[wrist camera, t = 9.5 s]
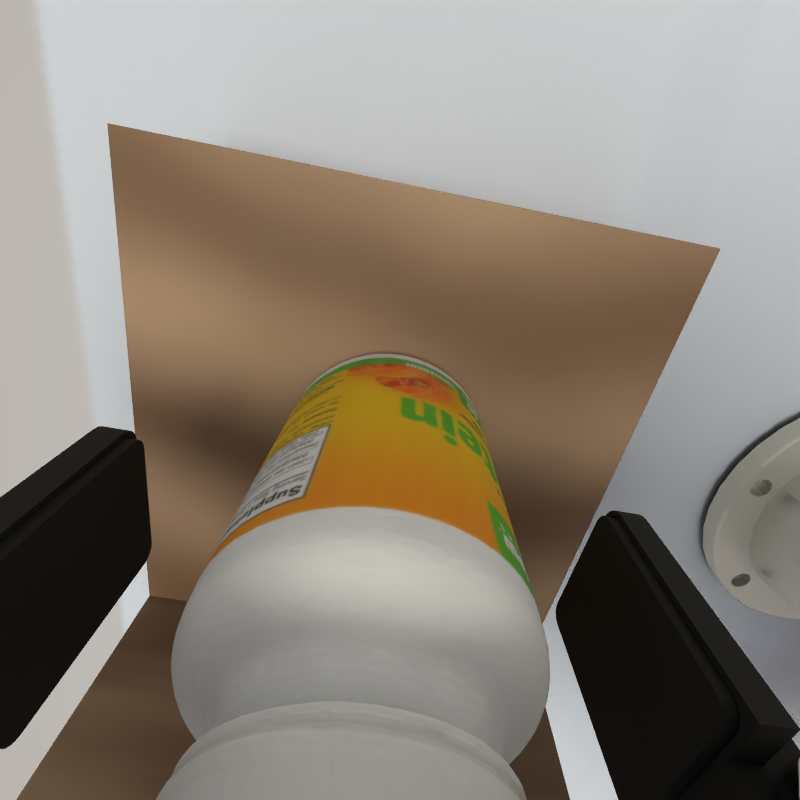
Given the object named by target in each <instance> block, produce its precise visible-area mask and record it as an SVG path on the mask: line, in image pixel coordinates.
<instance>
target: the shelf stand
mask: <svg viewBox="0 0 800 800" xmlns="http://www.w3.org/2000/svg"><path fill="white" fill-rule="evenodd" d="M107 124H108V123H107ZM108 135H109V146H110V157H111V168H112V179H113V191H114V202H115V213H116V224H117V235H118V246H119V258H120V269H121V280H122V291H123V302H124V313H125V325H126V336H127V347H128V358H129V369H130V381H131V392H132V403H133V414H134V425H135V435H136V439H137V440H140V441H142V442H143V444H144V451H145V463H146V475H147V488H148V500H149V513H150V525H151V537H152V547H151V551H150V554H149V557H148V559H147V571H148V582H149V593H150V596H149V598H148V599H147V601H146V602H145V604H144V605H143V607H142V608H141V610H140V611H139V613H138V614H137V616H136V618H135V619H134V621H133V622H132V624H131V625H130V627H129V628H128V630H127V631H126V633H125V634H124V636H123V638H122V639H121V640H120V642H119V644H118V645H117V647H116V648H115V650H114V651H113V653H112V654H111V656H110V657H109V659H108V660H107V662H106V663H105V665H104V667H103V668H102V670H101V671H100V673H99V674H98V676H97V677H96V679H95V680H94V682H93V684H92V685H91V687H90V688H89V690H88V691H87V693H86V694H85V696H84V697H83V699H82V700H81V702H80V703H79V705H78V706H77V708H76V709H75V711H74V712H73V714H72V715H71V717H70V719H69V720H68V722H67V724H66V725H65V726H64V728H63V729H62V731H61V732H60V734H59V735H58V737H57V738H56V740H55V742H54V743H53V745H52V746H51V748H50V749H49V751H48V752H47V754H46V755H45V757H44V759H43V760H42V761H41V763H40V764H39V766H38V768H37V769H36V771H35V772H34V774H33V775H32V777H31V778H30V780H29V781H28V783H27V784H26V786H25V787H24V789H23V791H22V792H21V794H20V795H19V797H18V798H17V800H156V798H157V796H158V795H159V793H160V792H161V790H162V788H163V787H164V785H165V784H166V782H167V781H168V780H169V779H170V778H171V776H172V774H173V772H174V769H175V767H176V765H177V764H178V762H179V760H180V759H181V757H182V756H183V754H184V753H185V752H186V751H187V750H188V749H189V748H190V746H191V745H192V744H194V743H195V742H196V739H195V738H194V736H193V735H192V733H191V732H190V731H189V729H188V727H187V726H186V724H185V722H184V720H183V718H182V716H181V713H180V711H179V708H178V705H177V702H176V699H175V695H174V689H173V684H172V673H171V657H172V649H173V642H174V638H175V634H176V630H177V627H178V624H179V622H180V619H181V616H182V614H183V611H184V609H185V606H186V604H187V602H188V600H189V598H190V596H191V594H192V592H193V590H194V588H195V586H196V584H197V582H198V579H199V578H200V576H201V574H202V572H203V570H204V568H205V567H206V565H207V563H208V561H209V560H210V558H211V556H212V554H213V552H214V551H215V549H216V547H217V545H218V544H219V542H220V540H221V539H222V537H223V535H224V533H225V532H226V530H227V528H228V526H229V524H230V522H231V521H232V519H233V517H234V515H235V513H236V512H237V510H238V508H239V506H240V504H241V503H242V501H243V499H244V497H245V495H246V494H247V492H248V490H249V488H250V486H251V485H252V483H253V481H254V479H255V477H256V475H257V474H258V472H259V470H260V468H261V466H262V465H263V463H264V461H265V459H266V458H267V456H268V454H269V452H270V450H271V448H272V447H273V445H274V443H275V441H276V440H277V438H278V436H279V434H280V432H281V431H282V429H283V427H284V425H285V423H286V422H287V420H288V418H289V416H290V414H291V412H292V411H293V409H294V407H295V406H296V404H297V402H298V401H299V400H300V398H301V396H302V395H303V394H304V392H305V391H306V390H307V388H308V387H309V386H310V385H311V384H312V383H313V382H314V381H315V380H316V379H317V378H318V377H320V376H321V375H322V374H324V373H325V372H326V371H328V370H329V369H331V368H333V367H334V366H336V365H338V364H340V363H342V362H344V361H347V360H350V359H353V358H356V357H360V356H364V355H370V354H398V355H404V356H409V357H413V358H416V359H419V360H422V361H424V362H427V363H429V364H431V365H433V366H435V367H437V368H438V369H440V370H442V371H443V372H445V373H446V374H447V375H449V376H450V377H451V378H452V379H453V380H454V381H456V382H457V383H458V384H459V385H460V387H461V388H462V389H463V390H464V391H465V393H466V394H467V395H468V397H469V399H470V400H471V402H472V404H473V406H474V408H475V410H476V412H477V414H478V417H479V419H480V422H481V425H482V428H483V432H484V435H485V438H486V442H487V445H488V449H489V452H490V456H491V459H492V462H493V466H494V469H495V473H496V476H497V479H498V482H499V486H500V489H501V492H502V495H503V499H504V502H505V506H506V509H507V512H508V515H509V518H510V521H511V524H512V528H513V531H514V534H515V537H516V540H517V544H518V547H519V550H520V554H521V557H522V560H523V563H524V566H525V570H526V573H527V576H528V579H529V582H530V585H531V588H532V591H533V594H534V597H535V601H536V604H537V608H538V612H539V615H540V619H541V622H542V624H543V622H544V620H545V618H546V615H547V613H548V611H549V609H550V607H551V605H552V603H553V601H554V599H555V596H556V594H557V592H558V590H559V588H560V586H561V584H562V582H563V580H564V578H565V575H566V573H567V571H568V569H569V567H570V565H571V563H572V561H573V559H574V556H575V554H576V552H577V550H578V548H579V546H580V544H581V542H582V540H583V537H584V535H585V533H586V531H587V529H588V527H589V525H590V523H591V521H592V519H593V516H594V514H595V512H596V510H597V508H598V506H599V504H600V502H601V500H602V497H603V495H604V493H605V491H606V489H607V487H608V485H609V483H610V481H611V478H612V476H613V474H614V472H615V470H616V468H617V466H618V464H619V462H620V460H621V457H622V455H623V453H624V451H625V449H626V447H627V445H628V443H629V441H630V438H631V436H632V434H633V432H634V430H635V428H636V426H637V424H638V422H639V419H640V417H641V415H642V413H643V411H644V409H645V407H646V405H647V403H648V400H649V398H650V396H651V394H652V392H653V390H654V388H655V386H656V384H657V382H658V379H659V377H660V375H661V373H662V371H663V369H664V367H665V365H666V363H667V360H668V358H669V356H670V354H671V352H672V350H673V348H674V346H675V344H676V341H677V339H678V337H679V335H680V333H681V331H682V329H683V327H684V325H685V323H686V320H687V318H688V316H689V314H690V312H691V310H692V308H693V306H694V304H695V301H696V299H697V297H698V295H699V293H700V291H701V289H702V287H703V285H704V282H705V280H706V278H707V276H708V274H709V272H710V270H711V268H712V266H713V264H714V261H715V259H716V257H717V255H718V253H719V251H720V249H719V248H714V247H709V246H704V245H700V244H695V243H690V242H685V241H680V240H675V239H670V238H665V237H660V236H656V235H651V234H646V233H641V232H636V231H631V230H626V229H621V228H616V227H612V226H607V225H602V224H597V223H592V222H587V221H582V220H577V219H572V218H568V217H563V216H558V215H553V214H548V213H543V212H538V211H533V210H529V209H524V208H519V207H514V206H509V205H504V204H499V203H494V202H489V201H485V200H480V199H475V198H470V197H465V196H460V195H455V194H450V193H445V192H441V191H436V190H431V189H426V188H421V187H416V186H411V185H406V184H401V183H397V182H392V181H387V180H382V179H377V178H372V177H367V176H362V175H357V174H353V173H348V172H343V171H338V170H333V169H328V168H323V167H318V166H314V165H309V164H304V163H299V162H294V161H289V160H284V159H279V158H274V157H270V156H265V155H260V154H255V153H250V152H245V151H240V150H235V149H230V148H226V147H221V146H216V145H211V144H206V143H201V142H196V141H191V140H186V139H182V138H177V137H172V136H167V135H162V134H157V133H152V132H147V131H142V130H138V129H133V128H128V127H123V126H118V125H113V124H108ZM509 766H510V767H511V768H512V770H513V771H514V773H515V774H516V776H517V777H518V779H519V780H520V782H521V784H522V786H523V789H524V793H525V796H526V799H527V800H570V798H569V794H568V791H567V787H566V783H565V779H564V776H563V772H562V768H561V764H560V761H559V757H558V753H557V749H556V746H555V742H554V738H553V734H552V731H551V727H550V723H549V719H548V716H547V712H546V708H544V711H543V714H542V717H541V720H540V723H539V725H538V727H537V729H536V731H535V733H534V734H533V736H532V738H531V739H530V740H529V742H528V743H527V745H526V746H525V748H524V749H523V750H522V751H521V753H520V754H519V755H518V756H517V757H516V758H515V759H514V760H513V761H512V762H511V763H510V764H509Z"/></svg>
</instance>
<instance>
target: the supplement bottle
mask: <svg viewBox="0 0 800 800" xmlns="http://www.w3.org/2000/svg"><path fill="white" fill-rule="evenodd" d="M171 673H172V684H173V689H174V695H175V699H176V702H177V705H178V708H179V711H180V713H181V716H182V718H183V720H184V722H185V724H186V726H187V727H188V729H189V731H190V732H191V733H192V735H193V736H194V738H195V739H196V742H195V743H194V744H192V745H191V746H190V748H189V749H188V750H187V751H186V752H185V753H184V754H183V756H182V757H181V759H180V760H179V762H178V764H177V765H176V767H175V769H174V772H173V774H172V776H171V778H170V779H169V780H168V781H167V782H166V784H165V785H164V787H163V788H162V790H161V792H160V793H159V795H158V796H157V798H156V800H527V799H526V796H525V793H524V789H523V786H522V784H521V782H520V780H519V779H518V777H517V776H516V774H515V773H514V771H513V770H512V768H511V767H510V766H509V764H510V763H511V762H512V761H513V760H514V759H515V758H516V757H517V756H518V755H519V754H520V753H521V751H522V750H523V749H524V748H525V746H526V745H527V743H528V742H529V740H530V739H531V738H532V736H533V734H534V733H535V731H536V729H537V727H538V725H539V723H540V720H541V717H542V714H543V711H544V708H545V705H546V702H547V697H548V691H549V681H550V666H549V653H548V645H547V641H546V637H545V633H544V629H543V626H542V622H541V619H540V615H539V612H538V608H537V604H536V601H535V597H534V594H533V591H532V588H531V585H530V582H529V579H528V576H527V573H526V570H525V566H524V563H523V560H522V557H521V554H520V550H519V547H518V544H517V540H516V537H515V534H514V531H513V528H512V524H511V521H510V518H509V515H508V512H507V509H506V506H505V502H504V499H503V495H502V492H501V489H500V486H499V482H498V479H497V476H496V473H495V469H494V466H493V462H492V459H491V456H490V452H489V449H488V445H487V442H486V438H485V435H484V432H483V428H482V425H481V422H480V419H479V417H478V414H477V412H476V410H475V408H474V406H473V404H472V402H471V400H470V399H469V397H468V395H467V394H466V393H465V391H464V390H463V389H462V388H461V387H460V385H459V384H458V383H457V382H456V381H454V380H453V379H452V378H451V377H450V376H449V375H447V374H446V373H445V372H443V371H442V370H440V369H438V368H437V367H435V366H433V365H431V364H429V363H427V362H424V361H422V360H419V359H416V358H413V357H409V356H404V355H398V354H370V355H364V356H360V357H356V358H353V359H350V360H347V361H344V362H342V363H340V364H338V365H336V366H334V367H333V368H331V369H329V370H328V371H326V372H325V373H324V374H322V375H321V376H320V377H318V378H317V379H316V380H315V381H314V382H313V383H312V384H311V385H310V386H309V387H308V388H307V390H306V391H305V392H304V394H303V395H302V396H301V398H300V400H299V401H298V402H297V404H296V406H295V407H294V409H293V411H292V412H291V414H290V416H289V418H288V420H287V422H286V423H285V425H284V427H283V429H282V431H281V432H280V434H279V436H278V438H277V440H276V441H275V443H274V445H273V447H272V448H271V450H270V452H269V454H268V456H267V458H266V459H265V461H264V463H263V465H262V466H261V468H260V470H259V472H258V474H257V475H256V477H255V479H254V481H253V483H252V485H251V486H250V488H249V490H248V492H247V494H246V495H245V497H244V499H243V501H242V503H241V504H240V506H239V508H238V510H237V512H236V513H235V515H234V517H233V519H232V521H231V522H230V524H229V526H228V528H227V530H226V532H225V533H224V535H223V537H222V539H221V540H220V542H219V544H218V545H217V547H216V549H215V551H214V552H213V554H212V556H211V558H210V560H209V561H208V563H207V565H206V567H205V568H204V570H203V572H202V574H201V576H200V578H199V579H198V582H197V584H196V586H195V588H194V590H193V592H192V594H191V596H190V598H189V600H188V602H187V604H186V606H185V609H184V611H183V614H182V616H181V619H180V622H179V624H178V627H177V630H176V634H175V638H174V642H173V649H172V657H171Z"/></svg>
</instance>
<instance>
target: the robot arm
mask: <svg viewBox="0 0 800 800" xmlns="http://www.w3.org/2000/svg"><path fill="white" fill-rule="evenodd" d="M151 547H152V537H151V525H150V513H149V500H148V488H147V475H146V463H145V451H144V444H143V442H142V441H140V440H137V439H136V435H135V434H134V433H133V432H132V431H128V430H121V429H115V428H109V427H103V426H101V427H97V428H95V429H93V430H92V431H91V432H89V433H88V434H86V435H85V436H84V437H82V438H81V439H80V440H78V441H77V442H75V443H74V444H73V445H71V446H70V447H69V448H67V449H66V450H65V451H63V452H62V453H61V454H59V455H58V456H56V457H55V458H54V459H52V460H51V461H49V462H48V463H47V464H46V465H44V466H43V467H41V468H40V469H39V470H37V471H36V472H35V473H33V474H32V475H30V476H29V477H28V478H26V479H25V480H23V481H22V482H21V483H20V484H18V485H17V486H15V487H14V488H13V489H11V490H10V491H9V492H7V493H6V494H4V495H3V496H2V497H0V749H5V748H7V747H8V746H10V745H11V744H12V743H13V742H15V741H16V739H17V738H18V737H19V736H20V734H21V733H22V732H23V730H24V729H25V728H26V726H27V725H28V723H29V722H30V721H31V719H32V718H33V717H34V715H35V714H36V713H37V711H38V710H39V708H40V707H41V705H42V704H43V703H44V702H45V700H46V699H47V697H48V696H49V695H50V693H51V692H52V691H53V689H54V688H55V686H56V685H57V684H58V682H59V681H60V679H61V678H62V677H63V675H64V674H65V672H66V671H67V670H68V668H69V667H70V666H71V664H72V663H73V661H74V660H75V659H76V657H77V656H78V655H79V653H80V652H81V650H82V649H83V648H84V646H85V645H86V644H87V642H88V641H89V639H90V638H91V637H92V635H93V634H94V633H95V631H96V630H97V628H98V627H99V626H100V624H101V623H102V622H103V620H104V619H105V617H106V616H107V615H108V613H109V612H110V611H111V609H112V608H113V606H114V605H115V603H116V602H117V601H118V599H119V598H120V597H121V595H122V594H123V593H124V591H125V590H126V588H127V587H128V586H129V584H130V583H131V582H132V580H133V579H134V577H135V576H136V575H137V573H138V572H139V571H140V569H141V568H142V566H143V565H144V564H145V562H146V560H147V559H148V557H149V554H150V551H151ZM703 549H704V553H705V557H706V561H707V563H708V565H709V567H710V568H711V570H712V572H713V573H714V575H715V576H716V578H717V579H718V580H719V581H720V582H721V583H722V585H723V586H724V587H725V588H726V589H727V590H728V592H729V593H730V594H731V595H732V596H733V597H734V598H736V599H737V600H739V601H740V602H741V603H743V604H744V605H746V606H747V607H750V608H752V609H755V610H757V611H759V612H762V613H764V614H768V615H773V616H777V617H782V618H786V619H799V620H800V418H799V419H797V420H795V421H793V422H791V423H789V424H787V425H786V426H784V427H782V428H781V429H779V430H778V431H777V432H775V433H774V434H772V435H771V436H770V437H768V438H767V439H765V440H764V441H763V442H761V443H760V444H758V445H757V446H756V447H755V448H754V449H753V450H752V451H751V452H750V453H749V454H748V455H747V456H746V457H745V458H743V459H742V460H741V461H740V462H739V463H738V464H737V465H736V466H735V468H734V469H733V470H732V472H731V473H730V474H729V475H728V477H727V478H726V479H725V481H724V482H723V483H722V484H721V486H720V487H719V489H718V491H717V493H716V495H715V497H714V499H713V501H712V503H711V504H710V506H709V509H708V512H707V516H706V519H705V523H704V526H703ZM556 620H557V624H558V627H559V630H560V632H561V635H562V638H563V641H564V644H565V647H566V650H567V653H568V656H569V658H570V661H571V664H572V667H573V670H574V673H575V676H576V679H577V681H578V684H579V687H580V690H581V693H582V696H583V699H584V702H585V704H586V707H587V710H588V713H589V716H590V719H591V722H592V725H593V728H594V730H595V733H596V736H597V739H598V742H599V745H600V748H601V751H602V753H603V756H604V759H605V762H606V765H607V768H608V771H609V774H610V777H611V779H612V782H613V785H614V788H615V791H616V794H617V797H618V800H800V750H799V749H798V747H797V746H796V744H795V743H794V741H793V740H792V738H793V737H794V736H795V735H796V734H797V733H798V732H799V731H800V728H799V727H798V726H797V724H796V723H795V722H794V720H793V719H792V718H791V716H790V715H789V713H788V712H787V711H786V709H785V708H784V707H783V705H782V704H781V703H780V701H779V700H778V699H777V697H776V696H775V694H774V693H773V692H772V690H771V689H770V688H769V686H768V685H767V684H766V682H765V681H764V679H763V678H762V677H761V675H760V674H759V673H758V671H757V670H756V669H755V667H754V666H753V664H752V663H751V662H750V660H749V659H748V658H747V656H746V655H745V654H744V652H743V651H742V650H741V648H740V647H739V645H738V644H737V643H736V641H735V640H734V639H733V637H732V636H731V635H730V633H729V632H728V630H727V629H726V628H725V626H724V625H723V624H722V622H721V621H720V620H719V618H718V617H717V615H716V614H715V613H714V611H713V610H712V609H711V607H710V606H709V605H708V603H707V602H706V601H705V599H704V598H703V596H702V595H701V594H700V592H699V591H698V590H697V588H696V587H695V586H694V584H693V583H692V581H691V580H690V579H689V577H688V576H687V575H686V573H685V572H684V571H683V569H682V568H681V566H680V565H679V564H678V562H677V561H676V560H675V558H674V557H673V556H672V554H671V553H670V552H669V550H668V549H667V547H666V546H665V545H664V543H663V542H662V541H661V539H660V538H659V537H658V535H657V534H656V532H655V531H654V530H653V528H652V527H651V526H650V524H649V523H648V522H647V520H646V519H645V518H644V517H643V516H641V515H638V514H632V513H626V512H620V511H610V512H609V513H607V515H606V516H601V517H600V518H599V519H598V521H597V522H596V525H595V527H594V529H593V531H592V533H591V535H590V537H589V539H588V541H587V543H586V545H585V547H584V549H583V552H582V554H581V556H580V558H579V560H578V562H577V564H576V566H575V568H574V570H573V572H572V574H571V576H570V578H569V581H568V583H567V585H566V587H565V589H564V591H563V593H562V595H561V597H560V599H559V601H558V604H557V607H556Z"/></svg>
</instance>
